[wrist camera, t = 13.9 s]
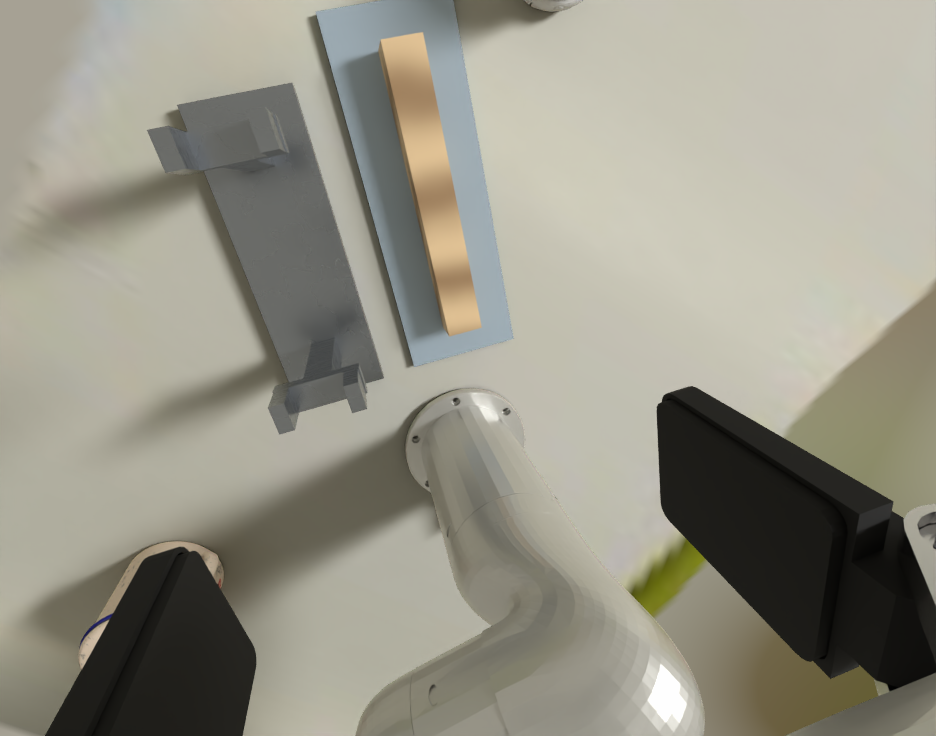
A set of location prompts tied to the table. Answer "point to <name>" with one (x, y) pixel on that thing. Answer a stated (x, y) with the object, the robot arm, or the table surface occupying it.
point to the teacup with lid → (103, 619)
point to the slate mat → (384, 174)
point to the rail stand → (281, 241)
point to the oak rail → (430, 178)
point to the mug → (552, 4)
